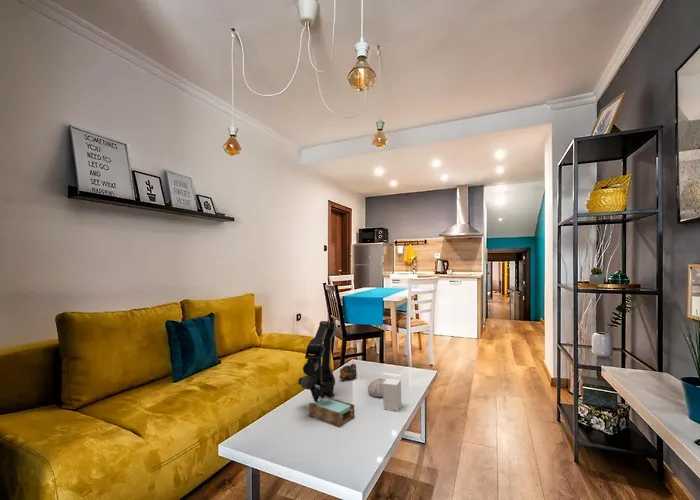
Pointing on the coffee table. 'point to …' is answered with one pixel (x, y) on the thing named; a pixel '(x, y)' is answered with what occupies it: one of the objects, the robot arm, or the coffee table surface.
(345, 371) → the decorative turtle
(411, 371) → the coffee table surface
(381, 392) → the sea urchin shell
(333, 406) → the cover plate
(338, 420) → the brown wooden box
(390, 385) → the supplement box
